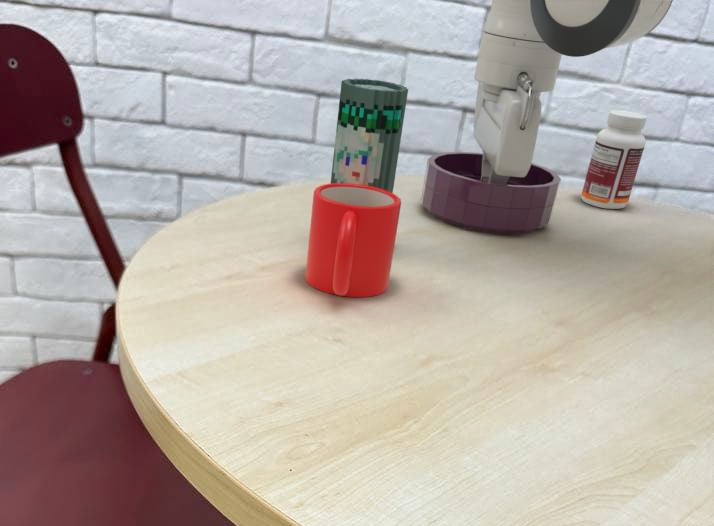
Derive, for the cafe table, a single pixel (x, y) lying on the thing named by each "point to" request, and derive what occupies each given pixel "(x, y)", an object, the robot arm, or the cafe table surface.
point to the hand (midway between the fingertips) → (488, 198)
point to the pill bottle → (615, 161)
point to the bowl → (487, 195)
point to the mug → (352, 239)
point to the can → (368, 132)
